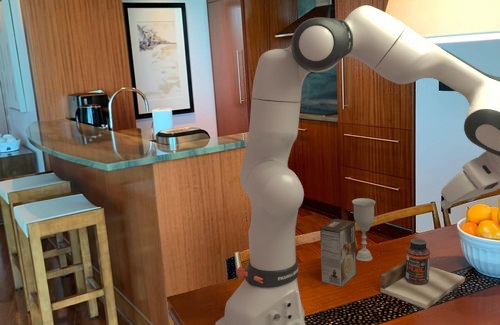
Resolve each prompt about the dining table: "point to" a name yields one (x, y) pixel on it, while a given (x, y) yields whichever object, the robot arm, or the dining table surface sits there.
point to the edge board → (419, 294)
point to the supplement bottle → (417, 262)
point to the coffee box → (338, 252)
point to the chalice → (364, 223)
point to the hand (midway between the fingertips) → (455, 202)
